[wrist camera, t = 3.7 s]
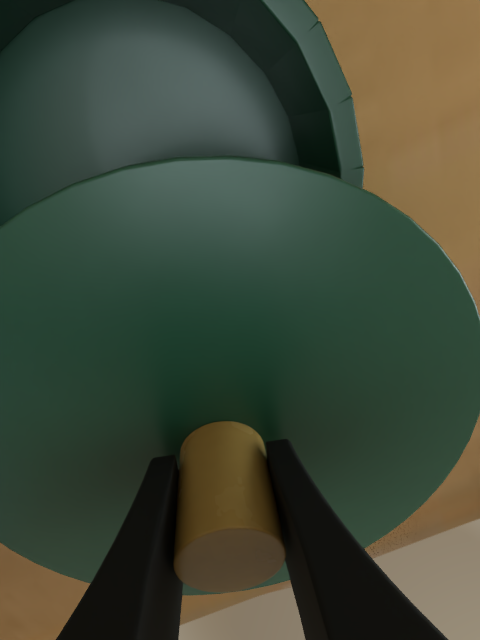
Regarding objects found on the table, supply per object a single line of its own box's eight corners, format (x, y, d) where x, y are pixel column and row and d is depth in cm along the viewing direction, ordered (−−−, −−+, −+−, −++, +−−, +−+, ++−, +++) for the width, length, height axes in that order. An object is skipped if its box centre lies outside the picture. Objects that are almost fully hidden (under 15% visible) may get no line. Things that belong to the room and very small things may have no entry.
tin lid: (53, 590, 15) (5, 743, 12) (-205, 193, 8) (-619, 254, 4) (420, 532, 16) (489, 656, 12) (525, 119, 8) (803, 105, 5)
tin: (35, 357, 20) (-22, 433, 15) (-123, -15, 12) (-347, -120, 7) (310, 324, 20) (347, 386, 15) (317, -44, 13) (391, -155, 8)
